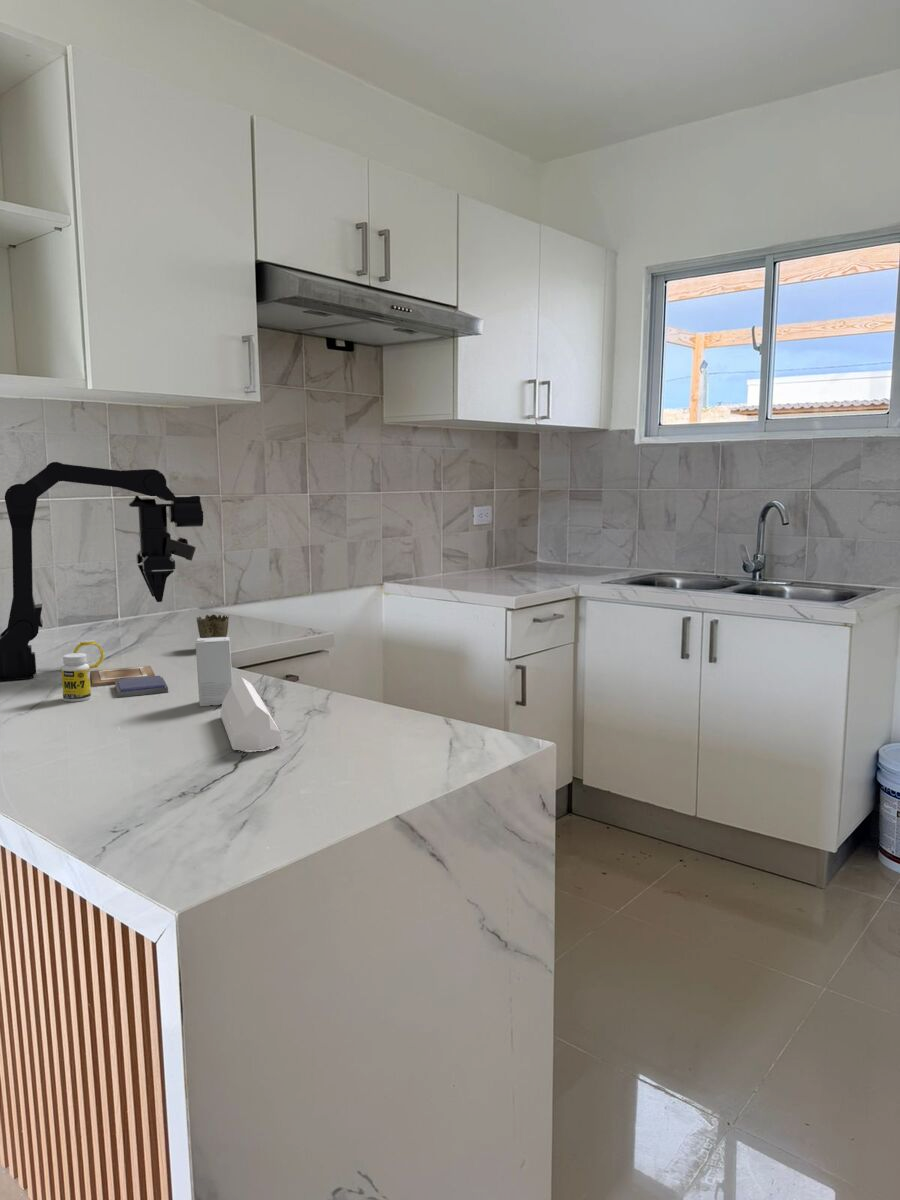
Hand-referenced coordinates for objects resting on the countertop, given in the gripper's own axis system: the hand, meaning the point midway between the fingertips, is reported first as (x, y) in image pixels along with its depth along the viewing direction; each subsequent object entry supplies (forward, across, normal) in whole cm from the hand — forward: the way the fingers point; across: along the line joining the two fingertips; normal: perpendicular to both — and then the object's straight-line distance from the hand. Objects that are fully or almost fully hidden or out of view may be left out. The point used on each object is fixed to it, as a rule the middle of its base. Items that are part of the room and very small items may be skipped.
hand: (156, 599), depth 183 cm
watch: (+15, +4, +14) cm, 21 cm away
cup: (+15, +12, -14) cm, 23 cm away
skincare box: (+15, -38, -6) cm, 41 cm away
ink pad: (+15, -22, +6) cm, 27 cm away
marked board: (+15, -9, +8) cm, 19 cm away
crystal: (+15, -58, -8) cm, 60 cm away
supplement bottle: (+15, -24, +17) cm, 33 cm away
